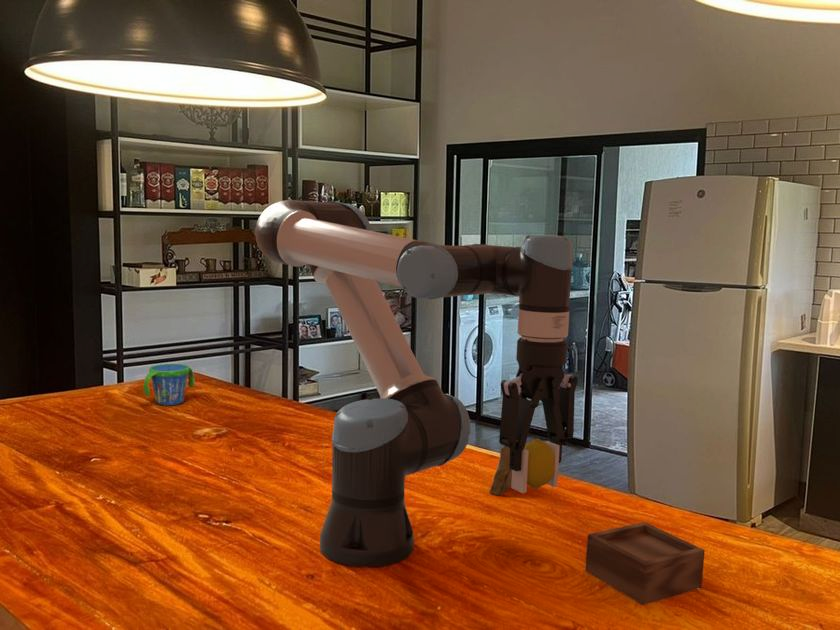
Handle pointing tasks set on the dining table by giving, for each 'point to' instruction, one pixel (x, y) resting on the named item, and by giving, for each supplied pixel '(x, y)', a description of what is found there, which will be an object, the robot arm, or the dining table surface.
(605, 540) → the walnut block
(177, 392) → the snack cup
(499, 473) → the rock
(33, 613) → the dining table surface
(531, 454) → the lemon
